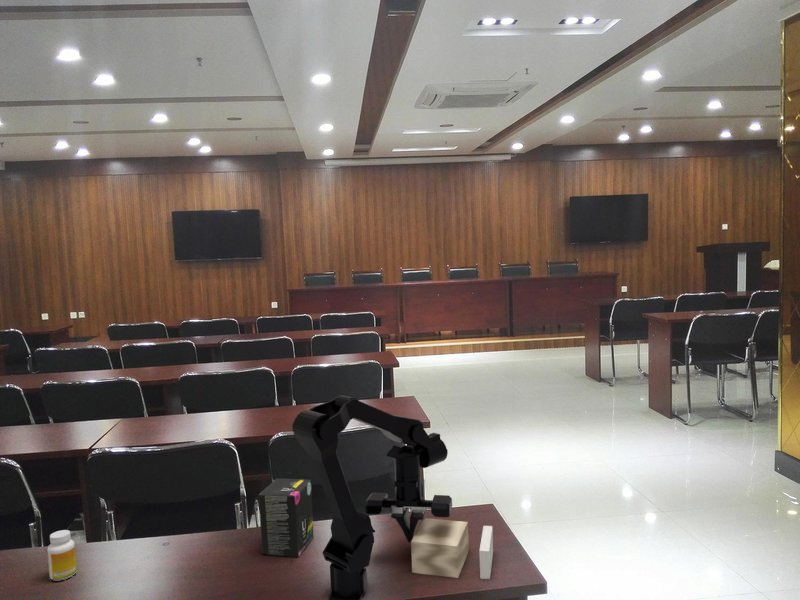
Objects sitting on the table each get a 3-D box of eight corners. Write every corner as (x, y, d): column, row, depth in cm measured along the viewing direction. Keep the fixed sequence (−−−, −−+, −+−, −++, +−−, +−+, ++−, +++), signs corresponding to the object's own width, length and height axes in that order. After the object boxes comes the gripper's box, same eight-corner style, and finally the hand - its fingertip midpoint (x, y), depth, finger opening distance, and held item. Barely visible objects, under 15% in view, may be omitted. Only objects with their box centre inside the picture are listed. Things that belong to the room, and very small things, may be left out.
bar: (480, 578, 129) (479, 550, 129) (484, 551, 141) (483, 525, 141) (489, 579, 129) (489, 551, 128) (493, 551, 141) (492, 526, 140)
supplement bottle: (82, 573, 138) (79, 531, 137) (58, 584, 134) (55, 541, 133) (68, 568, 141) (64, 526, 140) (44, 579, 136) (40, 536, 136)
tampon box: (299, 558, 141) (295, 495, 140) (261, 555, 143) (257, 494, 142) (315, 536, 152) (312, 478, 151) (279, 534, 154) (276, 477, 153)
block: (412, 573, 133) (411, 541, 132) (426, 547, 144) (425, 518, 144) (458, 578, 130) (457, 546, 129) (468, 551, 141) (467, 522, 141)
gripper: (453, 462, 143) (455, 527, 144) (375, 460, 147) (377, 523, 148) (448, 480, 132) (450, 550, 133) (363, 477, 136) (366, 545, 137)
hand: (410, 541), depth 138 cm, fingers closed
